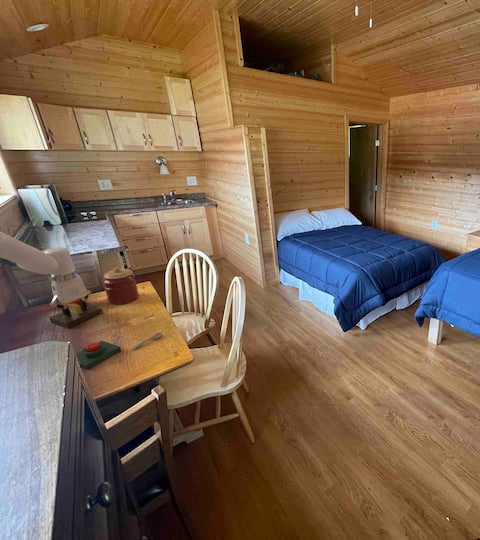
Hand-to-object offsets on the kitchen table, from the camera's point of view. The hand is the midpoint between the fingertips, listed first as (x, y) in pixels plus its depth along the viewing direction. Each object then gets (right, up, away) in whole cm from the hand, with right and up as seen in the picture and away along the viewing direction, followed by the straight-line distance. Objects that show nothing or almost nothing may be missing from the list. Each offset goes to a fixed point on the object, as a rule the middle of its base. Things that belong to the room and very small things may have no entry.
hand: (76, 312), depth 136 cm
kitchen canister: (+6, +4, +20) cm, 21 cm away
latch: (0, 0, 0) cm, 0 cm away
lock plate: (0, -3, +1) cm, 3 cm away
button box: (+28, -14, -21) cm, 37 cm away
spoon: (+40, -11, -10) cm, 43 cm away
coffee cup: (-11, +2, +12) cm, 16 cm away
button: (+28, -11, -22) cm, 37 cm away
